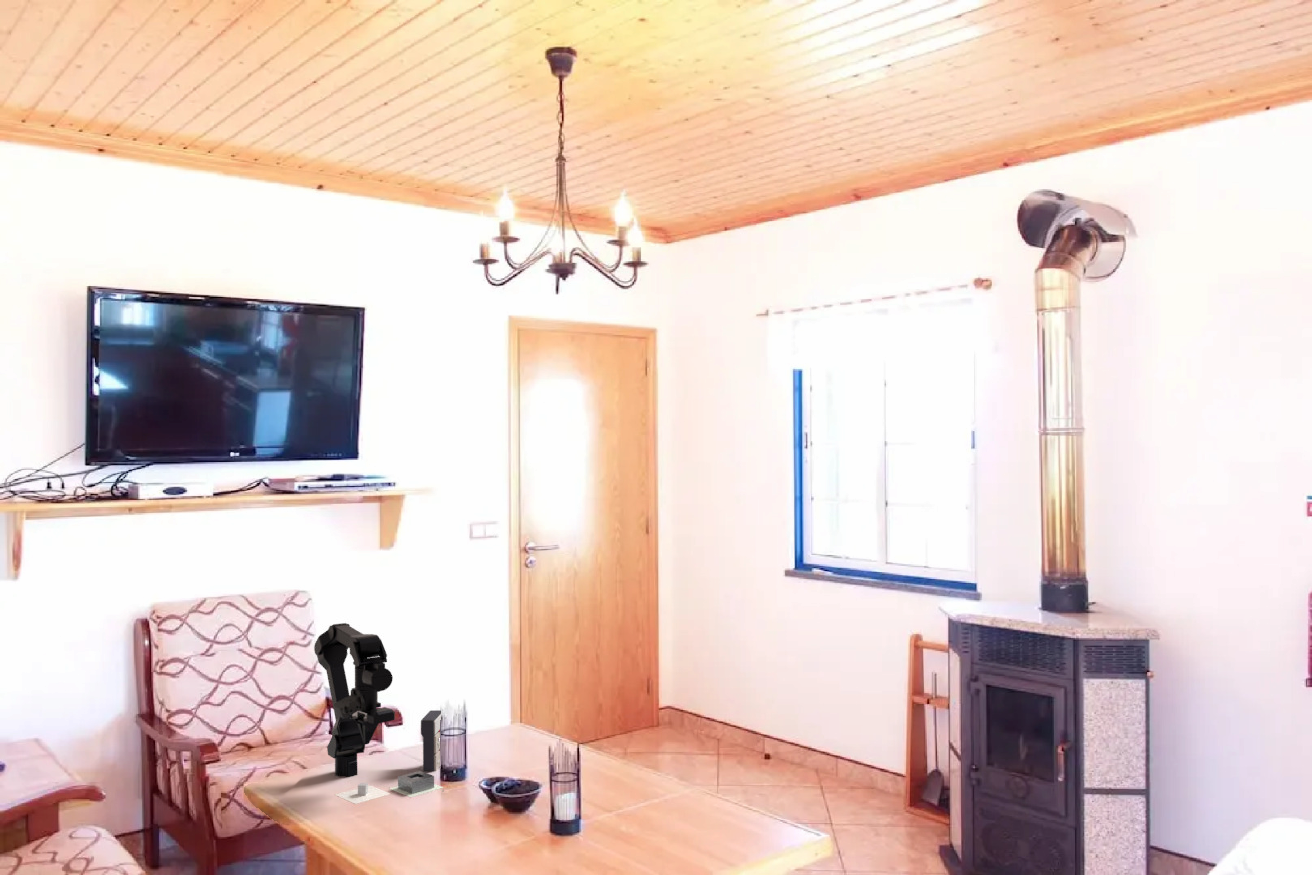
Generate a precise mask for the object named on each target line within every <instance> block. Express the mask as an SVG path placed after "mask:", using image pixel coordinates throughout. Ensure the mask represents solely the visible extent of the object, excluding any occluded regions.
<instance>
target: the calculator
mask: <svg viewBox="0 0 1312 875" xmlns="http://www.w3.org/2000/svg"><path fill="white" fill-rule="evenodd" d="M440 720H441V710H439V709H438V710H437V709H436V710H429V711H428V712H427V713H426V715H424V716H423V718H421V720H420V734H421V737H422V751H423V752H422V765H423V766H422V772H424V773H432V772H433V773H434V772H436V771H438V770H440V768H441V767H440V741H439V738H440ZM439 767H440V768H439Z"/></svg>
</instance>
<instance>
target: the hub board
mask: <svg viewBox="0 0 1312 875" xmlns="http://www.w3.org/2000/svg"><path fill="white" fill-rule="evenodd" d="M417 778H420V777H414V778H412V779H417ZM443 788H444V786H442V785H438V784H436V783H434V788H431V789H428V790H424V791H421V792H418V793H414V794H411V793H408V792H406V791H403V790H401V789H398V785H397V786H393V787H390V788H388V789H389V790H391V791H393V792H396V793H399V794H402V795H404V796H407V797H408V798H414V797H416V796H420V795H424V794H427V793H430V792H431V793H432V792H434V791H437V790H440V789H443ZM442 791H443V792H445V790H444V789H443V790H442Z"/></svg>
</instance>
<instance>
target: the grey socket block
mask: <svg viewBox="0 0 1312 875" xmlns="http://www.w3.org/2000/svg"><path fill="white" fill-rule="evenodd" d="M414 777H420V778H417V779H412V778H414ZM434 784H435V776H434V775H432V774H430V773H428V772H423V770H417V771H415V772H411V773H407V774H403V775H398V776H397V786H398V789H401V790H403V791H406V792H408V793H411V794H414V793H418V792H421V791H424V790H428V789H431V788H434Z"/></svg>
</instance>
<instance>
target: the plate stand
mask: <svg viewBox="0 0 1312 875" xmlns="http://www.w3.org/2000/svg"><path fill="white" fill-rule="evenodd" d="M389 795H391V793H389V792H387V791H385V790H382V789H380V788H377V787H375V786H373V785H369V783H368V782H359V784H357V788H356V789H355V788H354V789H351V790H347V791H343V792H340V793H336V794H335V796H336V797H339V798H341V799H343V800H346V801H347V802H350V803H352V804H354V805H358V804H361V803H364V802H367V801H370V800H375V799H379V798H382V797H386V796H389Z"/></svg>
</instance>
